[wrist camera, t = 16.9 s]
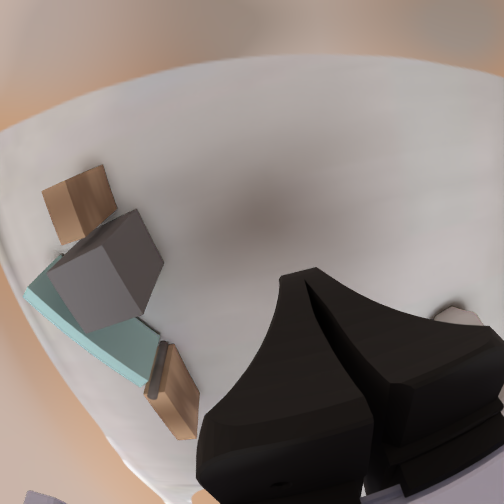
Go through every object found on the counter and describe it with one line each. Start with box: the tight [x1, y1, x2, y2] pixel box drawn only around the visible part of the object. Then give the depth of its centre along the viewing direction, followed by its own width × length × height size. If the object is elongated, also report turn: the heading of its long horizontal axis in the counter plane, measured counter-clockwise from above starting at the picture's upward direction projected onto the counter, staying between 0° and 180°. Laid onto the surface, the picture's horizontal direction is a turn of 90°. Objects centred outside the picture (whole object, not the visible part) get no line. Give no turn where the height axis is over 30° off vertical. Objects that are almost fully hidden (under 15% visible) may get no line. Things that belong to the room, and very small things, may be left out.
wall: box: [42, 165, 200, 440], centre depth 19 cm, size 20×2×5 cm, turn 13°
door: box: [23, 254, 160, 387], centre depth 18 cm, size 10×2×5 cm, turn 44°
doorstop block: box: [46, 209, 164, 334], centre depth 17 cm, size 4×4×6 cm
